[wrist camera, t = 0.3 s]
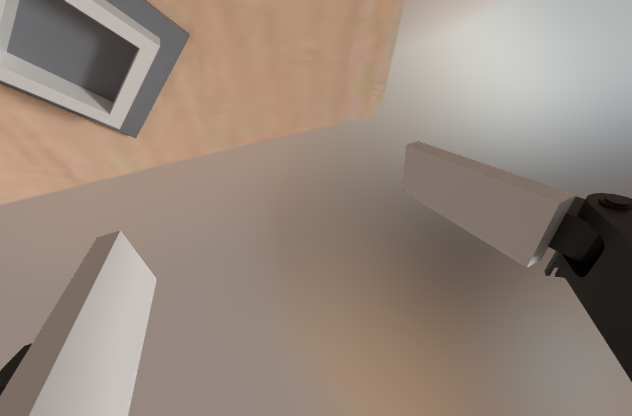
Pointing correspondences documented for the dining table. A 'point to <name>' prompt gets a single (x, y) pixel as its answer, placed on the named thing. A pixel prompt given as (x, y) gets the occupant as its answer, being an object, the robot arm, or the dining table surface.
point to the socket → (90, 56)
